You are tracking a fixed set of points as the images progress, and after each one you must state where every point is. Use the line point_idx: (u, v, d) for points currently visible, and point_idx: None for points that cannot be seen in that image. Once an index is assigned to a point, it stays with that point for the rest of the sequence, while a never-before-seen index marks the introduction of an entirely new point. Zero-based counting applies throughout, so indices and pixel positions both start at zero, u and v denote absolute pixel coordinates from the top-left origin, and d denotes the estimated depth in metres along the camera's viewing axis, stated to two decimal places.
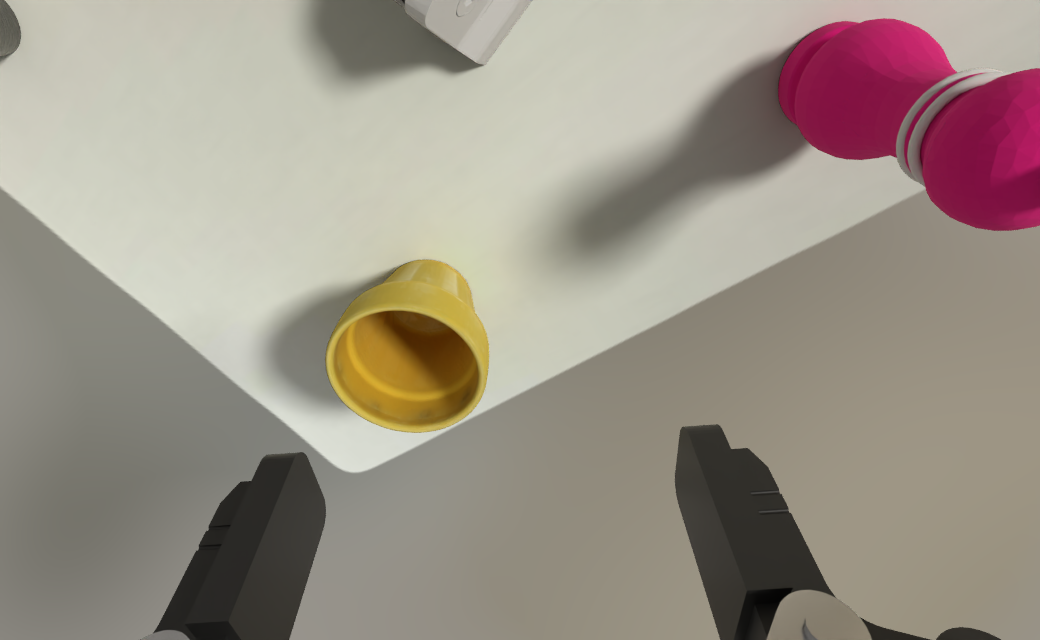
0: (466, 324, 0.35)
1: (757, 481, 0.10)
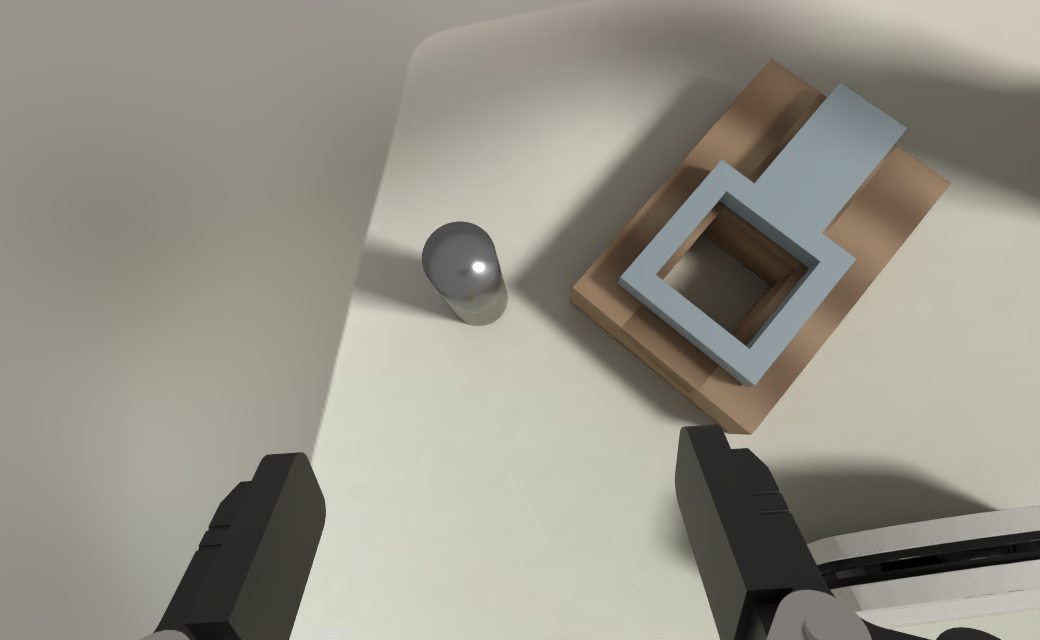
0: None
1: (757, 481, 0.10)
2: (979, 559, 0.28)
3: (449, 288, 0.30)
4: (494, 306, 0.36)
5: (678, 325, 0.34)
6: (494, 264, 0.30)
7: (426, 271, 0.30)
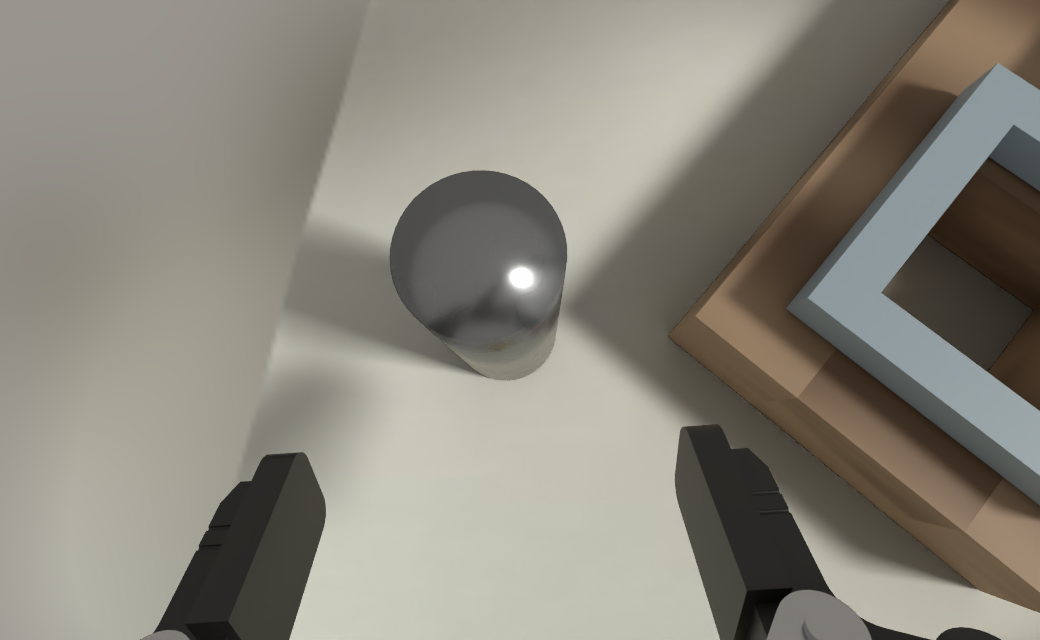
0: None
1: (757, 481, 0.10)
2: None
3: (456, 330, 0.12)
4: (541, 352, 0.18)
5: (934, 399, 0.16)
6: (563, 272, 0.13)
7: (400, 288, 0.13)
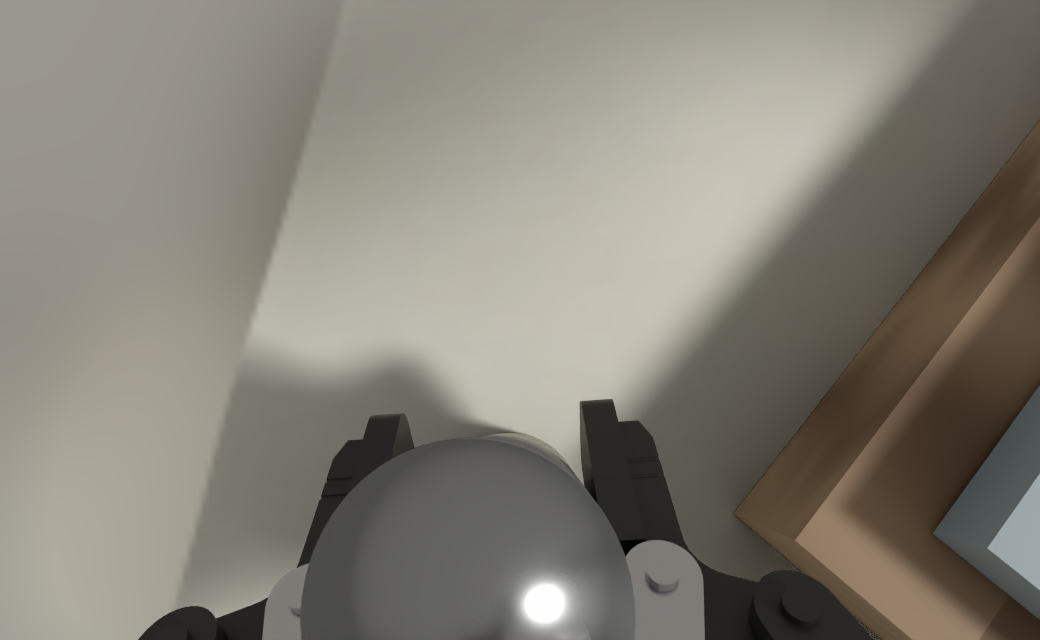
0: None
1: (640, 449, 0.11)
2: None
3: None
4: None
5: None
6: None
7: None
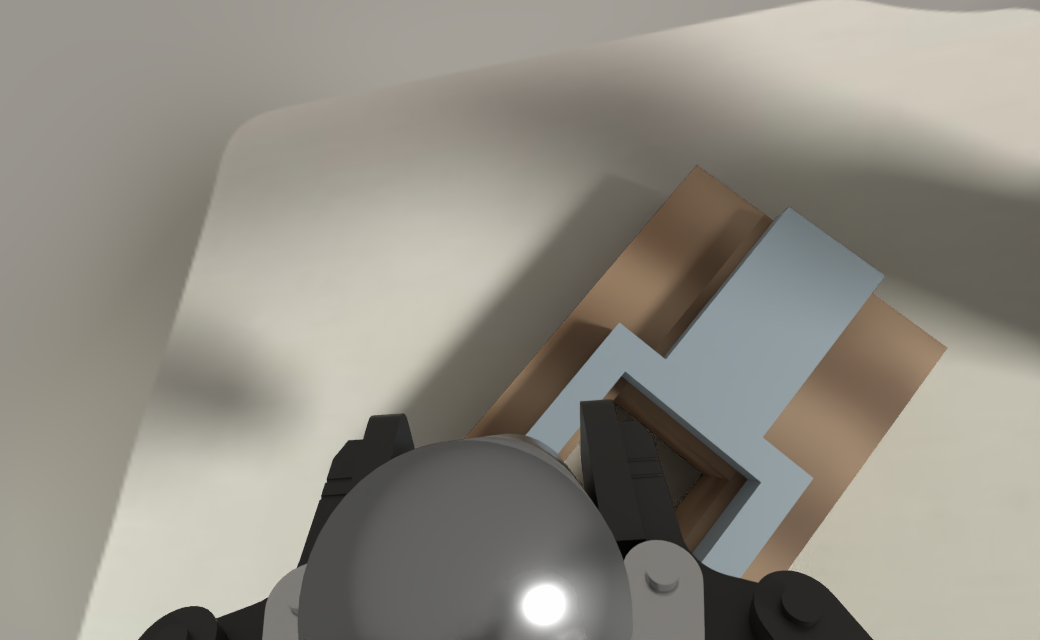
0: None
1: (640, 449, 0.11)
2: None
3: None
4: None
5: None
6: None
7: None
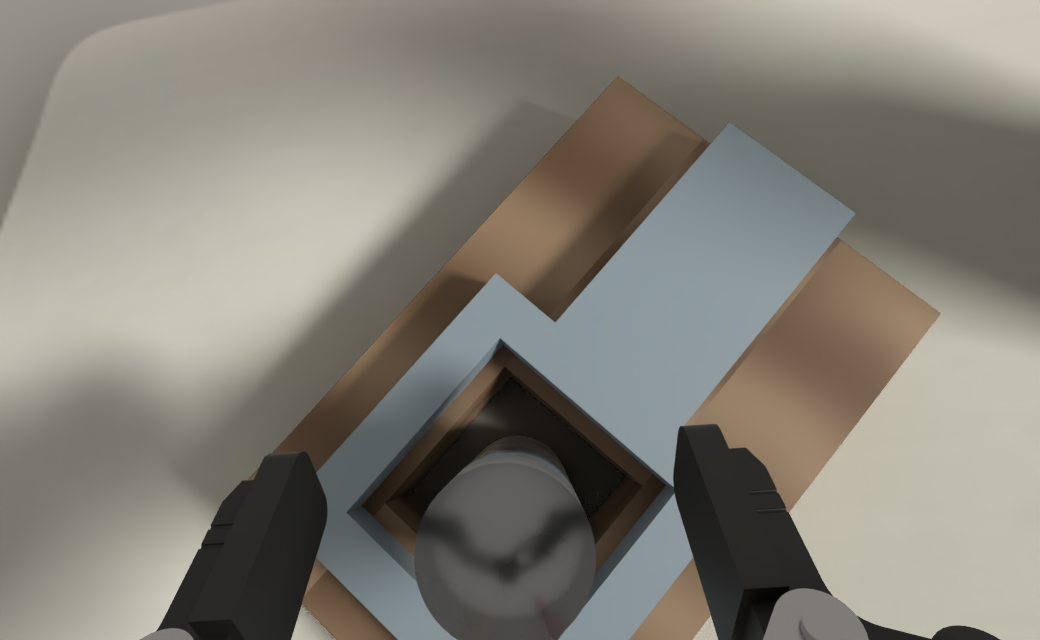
0: None
1: (755, 480, 0.10)
2: None
3: None
4: None
5: (385, 622, 0.16)
6: (592, 576, 0.12)
7: (425, 593, 0.12)
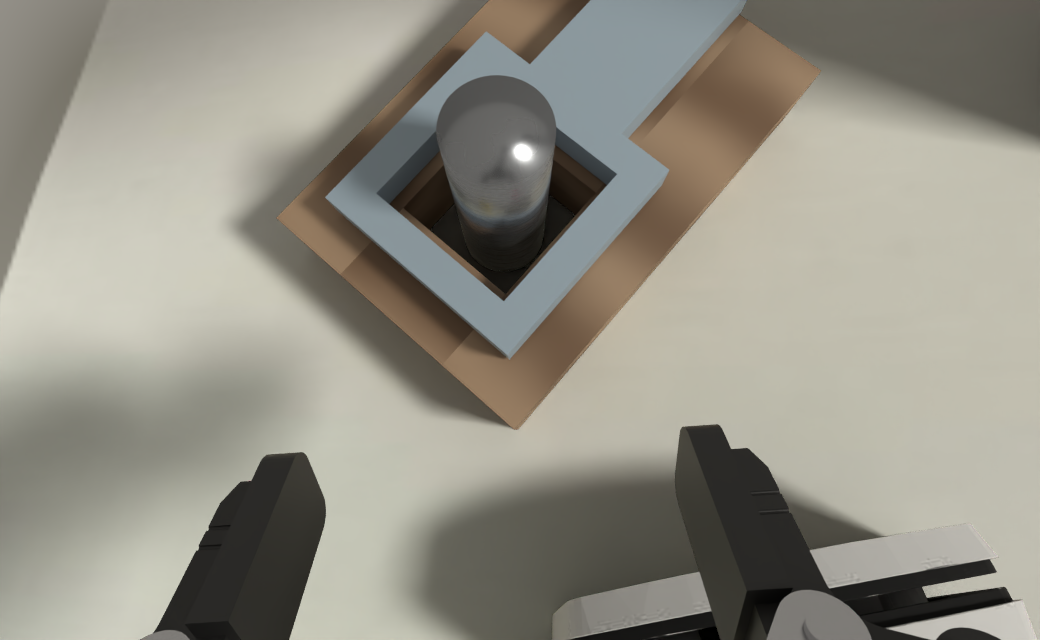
0: None
1: (757, 481, 0.10)
2: None
3: (477, 177, 0.18)
4: (531, 236, 0.25)
5: (405, 267, 0.23)
6: (552, 146, 0.19)
7: (441, 146, 0.19)
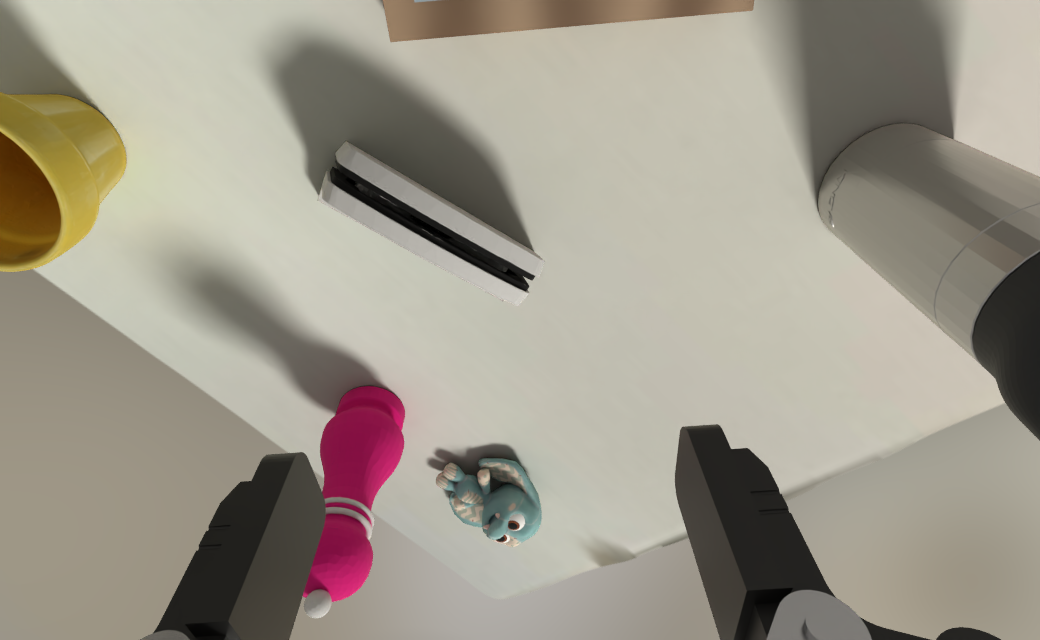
0: (68, 247, 0.34)
1: (757, 481, 0.10)
2: (426, 232, 0.35)
3: None
4: None
5: None
6: None
7: None
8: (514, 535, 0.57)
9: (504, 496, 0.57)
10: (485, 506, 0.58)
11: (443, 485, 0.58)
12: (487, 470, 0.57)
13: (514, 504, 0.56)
